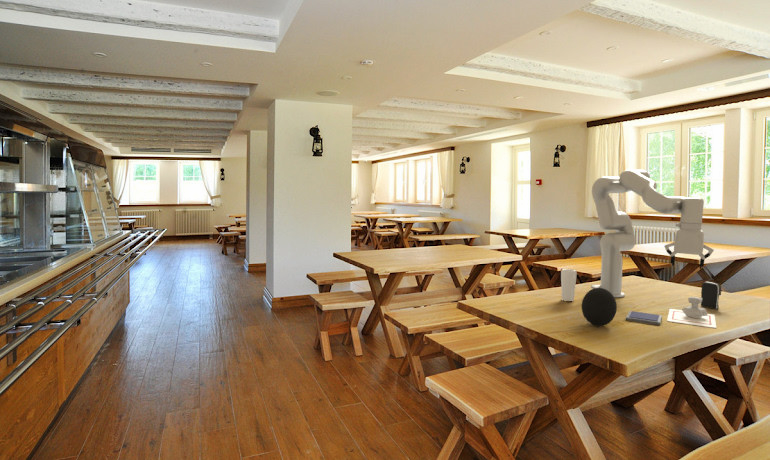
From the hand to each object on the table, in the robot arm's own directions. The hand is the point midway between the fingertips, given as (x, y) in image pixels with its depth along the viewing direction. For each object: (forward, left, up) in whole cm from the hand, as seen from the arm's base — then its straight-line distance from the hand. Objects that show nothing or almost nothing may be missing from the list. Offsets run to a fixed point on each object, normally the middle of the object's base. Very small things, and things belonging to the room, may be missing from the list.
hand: (686, 266), depth 189 cm
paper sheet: (+3, -6, -21) cm, 22 cm away
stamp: (+4, -5, -20) cm, 21 cm away
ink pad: (-13, -19, -21) cm, 31 cm away
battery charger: (+10, +20, -21) cm, 30 cm away
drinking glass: (-46, -5, -21) cm, 51 cm away
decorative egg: (-27, -39, -21) cm, 52 cm away
